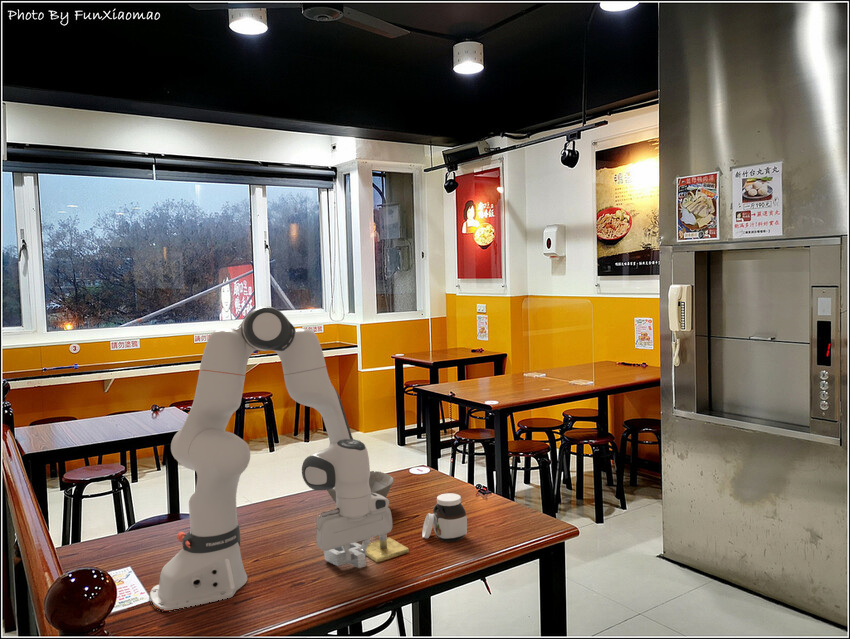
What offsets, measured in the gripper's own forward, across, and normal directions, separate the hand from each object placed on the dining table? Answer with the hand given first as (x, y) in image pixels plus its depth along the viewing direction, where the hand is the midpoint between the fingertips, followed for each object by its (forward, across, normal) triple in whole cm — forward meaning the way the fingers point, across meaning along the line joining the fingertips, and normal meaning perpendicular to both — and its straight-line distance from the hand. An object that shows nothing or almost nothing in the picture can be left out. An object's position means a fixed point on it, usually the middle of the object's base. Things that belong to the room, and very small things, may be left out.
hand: (356, 557), depth 160 cm
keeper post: (+4, +12, +6) cm, 14 cm away
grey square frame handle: (+2, 0, +4) cm, 4 cm away
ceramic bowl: (+4, +21, +37) cm, 43 cm away
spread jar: (+4, +30, +3) cm, 30 cm away
